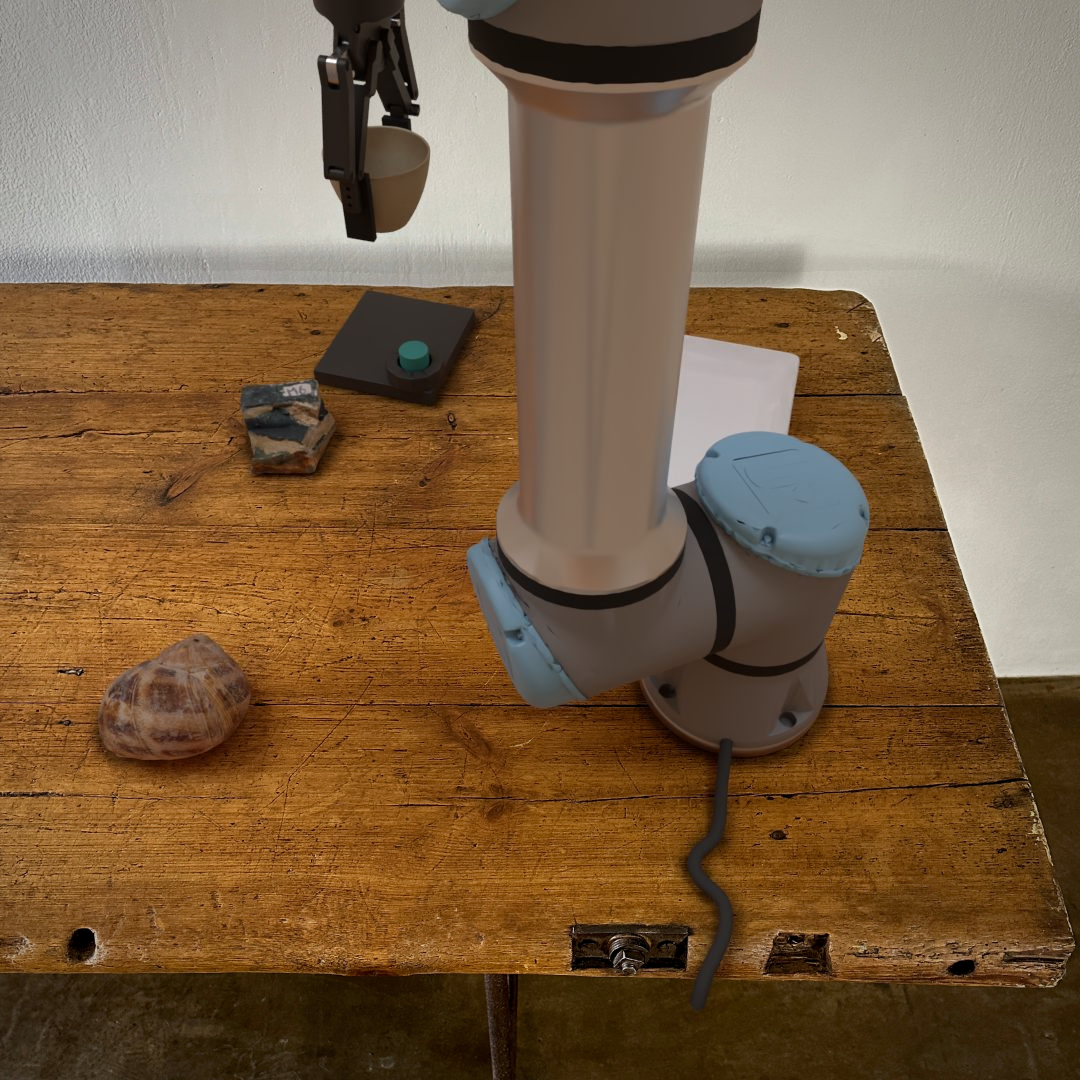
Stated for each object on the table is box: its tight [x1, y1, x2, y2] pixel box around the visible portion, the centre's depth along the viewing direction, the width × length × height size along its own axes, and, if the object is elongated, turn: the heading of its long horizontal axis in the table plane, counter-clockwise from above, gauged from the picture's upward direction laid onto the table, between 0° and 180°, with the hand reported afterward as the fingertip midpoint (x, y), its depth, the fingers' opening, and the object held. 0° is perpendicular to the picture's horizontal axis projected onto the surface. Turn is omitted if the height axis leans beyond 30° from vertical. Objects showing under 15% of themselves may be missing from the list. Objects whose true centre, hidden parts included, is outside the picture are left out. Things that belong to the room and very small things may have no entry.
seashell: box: [97, 633, 252, 761], centre depth 74 cm, size 10×9×10 cm
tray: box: [667, 334, 801, 488], centre depth 95 cm, size 17×32×4 cm, turn 164°
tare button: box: [399, 341, 429, 372], centre depth 100 cm, size 3×3×2 cm
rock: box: [240, 378, 338, 475], centre depth 95 cm, size 9×9×6 cm
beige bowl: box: [321, 125, 431, 234], centre depth 93 cm, size 10×10×7 cm
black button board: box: [312, 289, 476, 407], centre depth 105 cm, size 15×13×4 cm
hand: (382, 208), depth 95 cm, fingers closed on beige bowl, 10 cm apart
